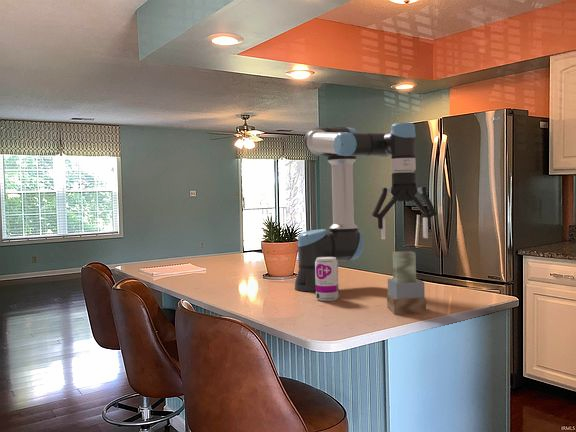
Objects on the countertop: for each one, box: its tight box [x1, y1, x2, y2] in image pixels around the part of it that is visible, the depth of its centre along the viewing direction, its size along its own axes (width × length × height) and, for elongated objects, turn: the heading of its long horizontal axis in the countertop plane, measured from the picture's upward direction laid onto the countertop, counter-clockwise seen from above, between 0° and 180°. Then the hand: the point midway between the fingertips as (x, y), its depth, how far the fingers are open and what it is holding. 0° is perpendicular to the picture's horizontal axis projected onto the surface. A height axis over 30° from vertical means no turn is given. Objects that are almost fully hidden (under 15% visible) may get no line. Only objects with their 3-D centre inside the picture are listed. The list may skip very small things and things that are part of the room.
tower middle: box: [387, 278, 425, 299], centre depth 166 cm, size 9×9×5 cm
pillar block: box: [392, 250, 417, 282], centre depth 166 cm, size 6×6×9 cm
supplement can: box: [315, 257, 339, 302], centre depth 187 cm, size 8×8×15 cm
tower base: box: [386, 292, 427, 316], centre depth 167 cm, size 10×10×5 cm
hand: (404, 238), depth 166 cm, fingers open, 13 cm apart
